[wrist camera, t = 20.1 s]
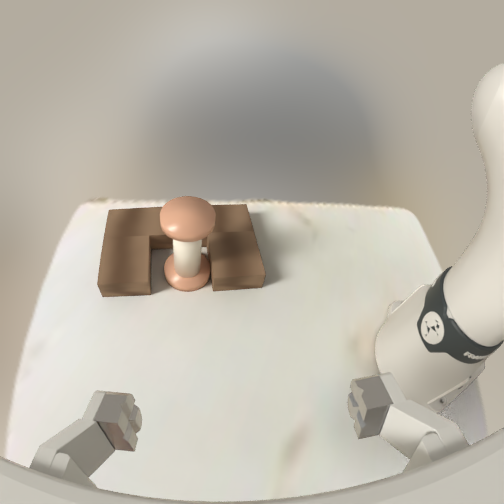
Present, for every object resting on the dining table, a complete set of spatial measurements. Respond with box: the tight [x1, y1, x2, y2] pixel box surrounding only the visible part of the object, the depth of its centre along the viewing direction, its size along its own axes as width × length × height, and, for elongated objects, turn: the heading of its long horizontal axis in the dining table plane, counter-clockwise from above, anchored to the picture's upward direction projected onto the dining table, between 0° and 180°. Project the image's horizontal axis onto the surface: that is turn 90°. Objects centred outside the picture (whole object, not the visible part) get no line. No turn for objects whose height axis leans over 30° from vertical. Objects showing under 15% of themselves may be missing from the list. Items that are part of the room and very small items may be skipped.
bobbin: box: [160, 196, 216, 292], centre depth 39 cm, size 6×6×11 cm
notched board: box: [97, 204, 266, 297], centre depth 44 cm, size 22×14×3 cm, turn 100°
